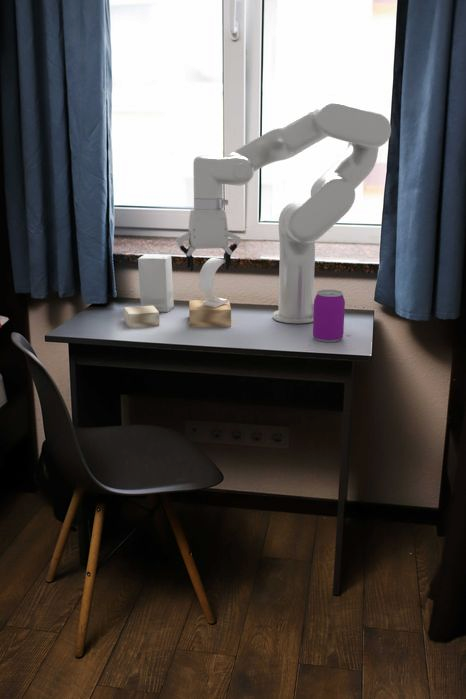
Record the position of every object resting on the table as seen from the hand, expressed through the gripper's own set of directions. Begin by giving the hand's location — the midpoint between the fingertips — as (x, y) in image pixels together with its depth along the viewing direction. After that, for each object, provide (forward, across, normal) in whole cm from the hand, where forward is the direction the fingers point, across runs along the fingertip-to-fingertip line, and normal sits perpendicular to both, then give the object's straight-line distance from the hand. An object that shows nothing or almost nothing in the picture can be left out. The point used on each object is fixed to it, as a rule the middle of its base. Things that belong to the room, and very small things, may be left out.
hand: (208, 269), depth 213 cm
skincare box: (+14, +12, -16) cm, 25 cm away
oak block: (+15, 0, 0) cm, 15 cm away
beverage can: (+14, -26, +23) cm, 38 cm away
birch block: (+15, +18, -2) cm, 23 cm away
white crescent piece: (+10, -2, 0) cm, 10 cm away
